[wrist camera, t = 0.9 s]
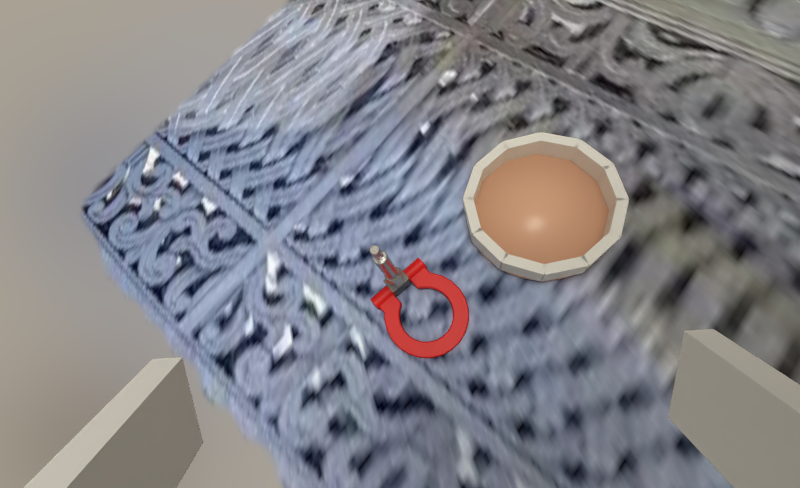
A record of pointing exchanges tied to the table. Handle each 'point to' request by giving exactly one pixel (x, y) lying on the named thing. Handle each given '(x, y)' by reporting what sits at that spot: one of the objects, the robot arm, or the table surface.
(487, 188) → the round tray
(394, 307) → the tow hook
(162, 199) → the table surface
